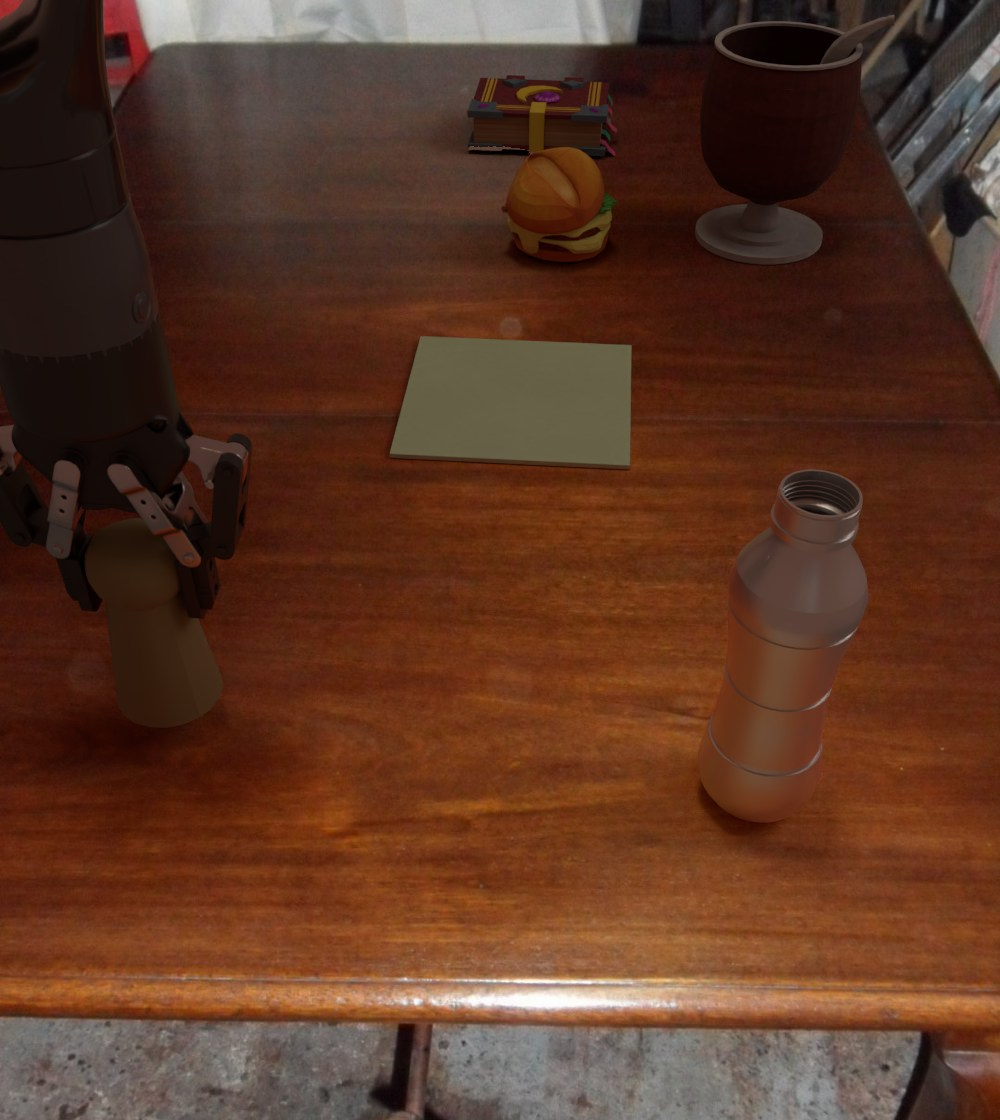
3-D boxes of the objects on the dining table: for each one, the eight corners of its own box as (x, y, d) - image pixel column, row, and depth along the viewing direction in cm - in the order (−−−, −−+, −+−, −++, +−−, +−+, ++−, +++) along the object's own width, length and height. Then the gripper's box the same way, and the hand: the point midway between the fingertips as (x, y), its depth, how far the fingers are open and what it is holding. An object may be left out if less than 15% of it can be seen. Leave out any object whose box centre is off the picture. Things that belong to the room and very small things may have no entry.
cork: (104, 673, 69) (56, 519, 61) (205, 642, 71) (171, 489, 63) (131, 741, 66) (84, 586, 58) (237, 707, 67) (205, 553, 60)
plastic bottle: (752, 858, 63) (827, 558, 49) (667, 780, 67) (713, 481, 52) (837, 803, 66) (931, 504, 51) (750, 731, 69) (816, 434, 55)
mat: (389, 458, 89) (389, 453, 89) (420, 340, 102) (420, 335, 101) (629, 469, 88) (630, 465, 88) (631, 349, 101) (631, 344, 100)
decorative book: (479, 116, 138) (479, 70, 135) (618, 122, 137) (621, 75, 134) (468, 154, 131) (467, 105, 127) (614, 160, 129) (618, 111, 126)
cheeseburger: (630, 230, 117) (631, 135, 108) (590, 300, 112) (587, 207, 103) (536, 210, 119) (529, 116, 111) (492, 278, 115) (482, 185, 106)
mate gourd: (673, 257, 113) (699, 22, 99) (700, 200, 122) (727, -23, 108) (839, 279, 110) (890, 39, 95) (853, 218, 119) (902, -8, 105)
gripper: (252, 276, 54) (294, 570, 66) (-55, 260, 55) (42, 553, 67) (209, 360, 49) (263, 662, 61) (-130, 340, 49) (-10, 642, 62)
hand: (147, 604), depth 64 cm, fingers closed on cork, 5 cm apart
